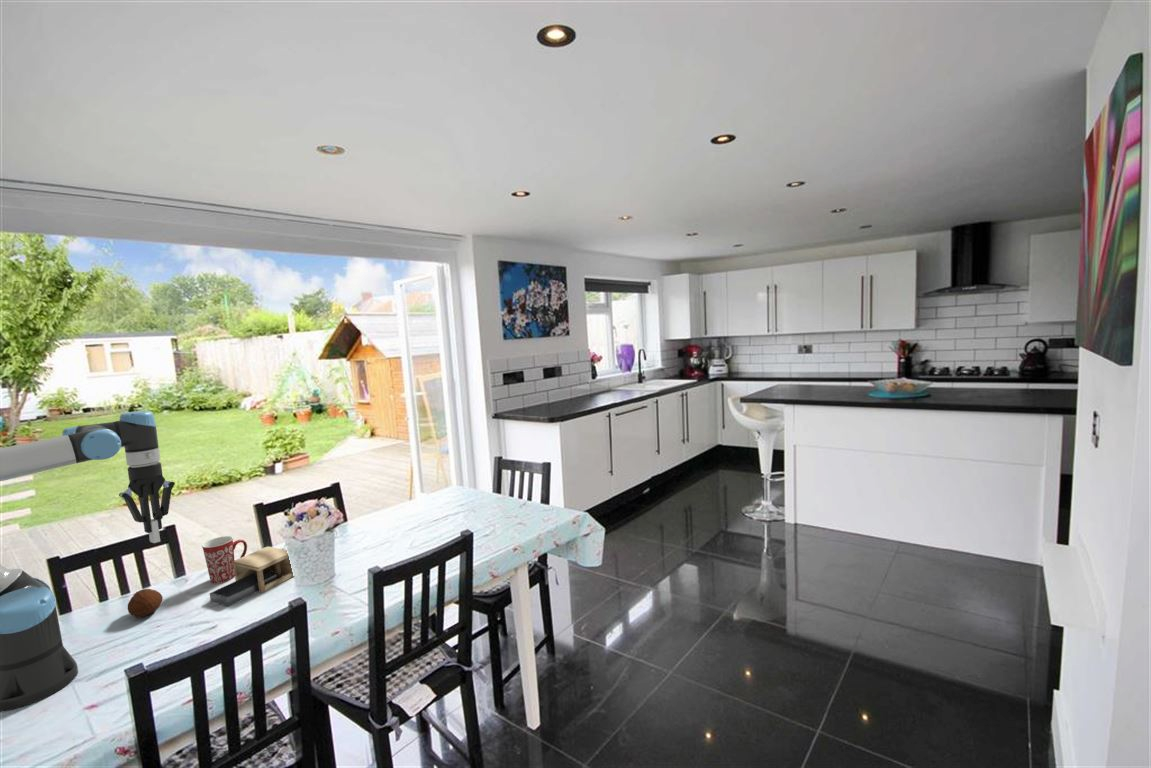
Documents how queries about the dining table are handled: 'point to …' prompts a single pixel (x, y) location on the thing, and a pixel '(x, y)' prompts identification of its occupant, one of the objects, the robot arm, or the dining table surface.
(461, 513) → the dining table surface
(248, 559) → the shelf
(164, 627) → the dining table surface
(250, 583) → the tray
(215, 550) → the mug
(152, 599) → the potato
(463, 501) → the dining table surface
